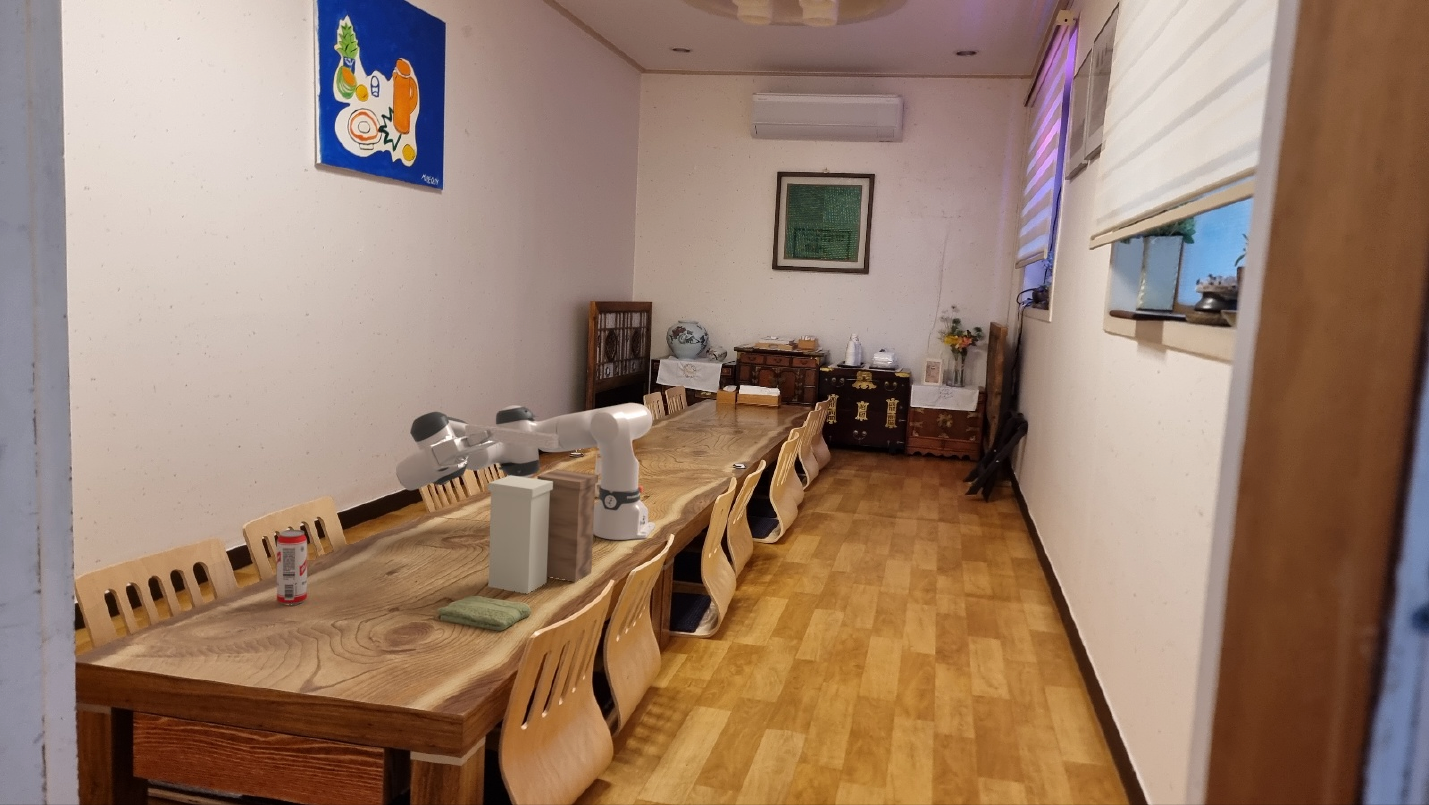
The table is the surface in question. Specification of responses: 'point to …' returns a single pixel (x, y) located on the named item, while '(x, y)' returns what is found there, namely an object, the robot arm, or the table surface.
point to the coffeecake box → (598, 471)
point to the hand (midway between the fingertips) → (492, 432)
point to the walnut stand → (570, 524)
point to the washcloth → (484, 612)
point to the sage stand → (518, 533)
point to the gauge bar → (515, 436)
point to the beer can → (291, 567)
